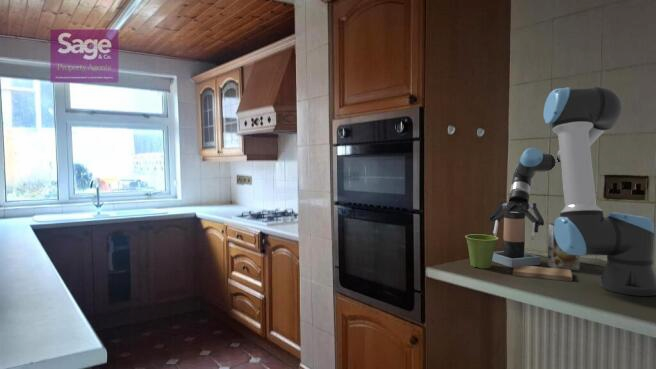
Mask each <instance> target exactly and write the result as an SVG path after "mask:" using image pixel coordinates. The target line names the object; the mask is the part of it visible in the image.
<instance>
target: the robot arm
mask: <svg viewBox="0 0 656 369" xmlns="http://www.w3.org/2000/svg"><path fill="white" fill-rule="evenodd" d="M623 109H624V106H623V101H622V99H621V97H620V95H619V94H618V93H616V92H615V91H614V90H613V89H610V88H607V87H603V86H594V87H593V86H592V87H590V86H589V87H568V86H566V87H562V88H561V87H560V88H554V89H553V90H552V91H551V92H550V93H549V94H548V96H547V98H546V99H545V102H544V106H543V121H544V122H545V124H547V125H550V126H551V129H552V132H553V133H554V134H556V135H557V136H558V138H557V139H558V148H559V150H557V152H558V153H557V152H556V153H557V160H558V162H561V171H562V172H561V178H562V179H561V180H562V188H563V201H564V207H563V209H562V210H561V211H560V212H559V217H557V218H556V219H555V220H554V225H555V226H554V235H555V239H556V242H557V244H558V246H559V247H560V249H561V250H562V251H563V252H565V253H566V254H570V255H579V256H580V257H581V256H606V263H605V265H604V267H603V270H602V272H601V275H600V277H599V286H600V287H601V288H602V289H604V290H606V291H610V292H613V293H616V294H617V293H618V294H621V295H629V296H636V297H637V296H638V297H639V296H640V297H652V296H653V297H654V296H656V272H655V269H654V249H655V248H654V247H655V245H654V244H655V235H656V232H655V224H654V221H653V219H652V218H649V217H647V216H640V215H634V214H628V213H623V212H622V213H620V212H613V211H612V212H611V211H610V212H608V214H607V217H606V216H605V217H604V211H603V209H602V208H600V207H599V206H598V205H597V197H596V190H595V180H594V171H593V161H592V154H591V153H592V152H591V151H592V150H591V146H592V145H593V144H594V143H595V142H596V141H597V139H598V138H599V137H601V135H603V133H604V132H606V131H609V130H611V129H612V128H614V126H615V125H616V124H617V123H618V122H619V120H620V119H621V117H622V115H623ZM545 153H546V152H545ZM545 153H543V152H542V151H541V150H540V149H539V148H538V149H537V148H535V147H528V148H527V149H525V150H524V151H523V153H522V154H521V156H520V159H519V161H518V163H517V165H518V166H517V165H516V166H517V168H516V170H515V172H514V171H513V172H514V174H513V173H512V179H511V180H512V181H511V185H510V191H509V197H508V201H507V203H506V202H505V203H504V202H503V201H500V202H499V205H498V206H497V207H496V208H495V209H494V210H493V211H492V213H491V214H490V215H489V216H488V221H489V222H490V223H492V224H491V229H492V230H493V231H492V233H493V236H495V237H497V234H498V228H499V222H500V221H501V220H504V211H505V212H507V211H509V210H517V211H524V212H525V218H526V217H527V219H528V220H529V221H530V222H531V223H532V226H531V235H530V237H531V241H534V240H535V234H536V233H538V232H539V227H540V226H544V225H545V220H544V218H543V216H542V214H541V212H540V211H539V210H538V208H537V203H536V202H533V203H532V204H529V201H530V194H531V186H532V181H531V179H532V180H533V178H534V177H535V175H536V173H542V172H543V173H546V172H545V171H549V170H551V169H552V168H553V167H554V166H555V163H556V162H555V159H554V157H553V156H552V155H550V154H545ZM516 171H517V172H516ZM532 177H533V178H532ZM529 209H531V210H532V211H533V213H534V215H535V216H534V215H533V214H532V213H531V212H530V210H529Z"/></svg>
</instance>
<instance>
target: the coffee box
mask: <svg viewBox="0 0 656 369" xmlns="http://www.w3.org/2000/svg"><path fill="white" fill-rule="evenodd" d="M554 226H555V225H554V223H551V222H549V224H548V237H547V238H548V241H547V263H546V264H547V266H548V267H549V268H556V269H567V270H571V271H572V270H573V271H579V270H580V259H581V258H580V257H581V256H579V255H570V254H566V253H565V252H563V251H562V250H561V249H560V247H559V246H558V244H557V242H556V239H555V235H554Z"/></svg>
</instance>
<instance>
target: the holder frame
mask: <svg viewBox="0 0 656 369" xmlns="http://www.w3.org/2000/svg"><path fill="white" fill-rule="evenodd" d="M492 262H493V263H494V262H495V263H497V264H500V265H503V266H505V267H506V266H507V267H509V268H513V269H514V265H524V266H538V265H540V264H541V256H539V255H535V254H531V253H527V252H524V258H515V259H512V258H508V257H505V256H504V250H502V251H501V250H500V251H494V253H493V258H492Z"/></svg>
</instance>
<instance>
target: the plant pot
mask: <svg viewBox="0 0 656 369" xmlns="http://www.w3.org/2000/svg"><path fill="white" fill-rule="evenodd" d="M464 237H465V239H466V244H467V248H468V254H469V255H468V256H469V262H470V266H472V267H473V268H476V267H477V268H478V269H489V268H491V267H492V263H493V261H492V258H493V253H494V252H495V248H496V245H497V241H498V240H499V237H497V236H496V237H495V236H494V235H490V234H481V233H480V234H479V233H478V234H477V233H475V234H472V233H471V234H466V235H465V236H464Z"/></svg>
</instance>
